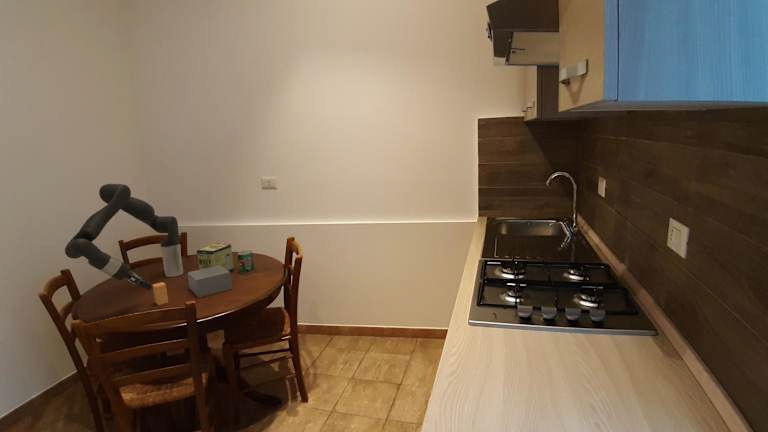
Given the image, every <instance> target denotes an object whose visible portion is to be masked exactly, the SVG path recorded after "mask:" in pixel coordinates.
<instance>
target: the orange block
mask: <svg viewBox="0 0 768 432" xmlns="http://www.w3.org/2000/svg"><path fill="white" fill-rule="evenodd" d="M152 292H153V297H154V302H155V304H156V305H157V306H160V305H162V306H163V305H166V304H168V303H169V296H168V290H167V285H166V283H165V282H163V281H162V282H158V283H154V284H152Z"/></svg>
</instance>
